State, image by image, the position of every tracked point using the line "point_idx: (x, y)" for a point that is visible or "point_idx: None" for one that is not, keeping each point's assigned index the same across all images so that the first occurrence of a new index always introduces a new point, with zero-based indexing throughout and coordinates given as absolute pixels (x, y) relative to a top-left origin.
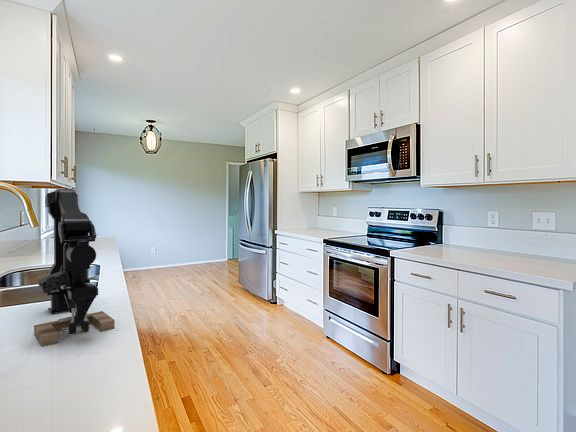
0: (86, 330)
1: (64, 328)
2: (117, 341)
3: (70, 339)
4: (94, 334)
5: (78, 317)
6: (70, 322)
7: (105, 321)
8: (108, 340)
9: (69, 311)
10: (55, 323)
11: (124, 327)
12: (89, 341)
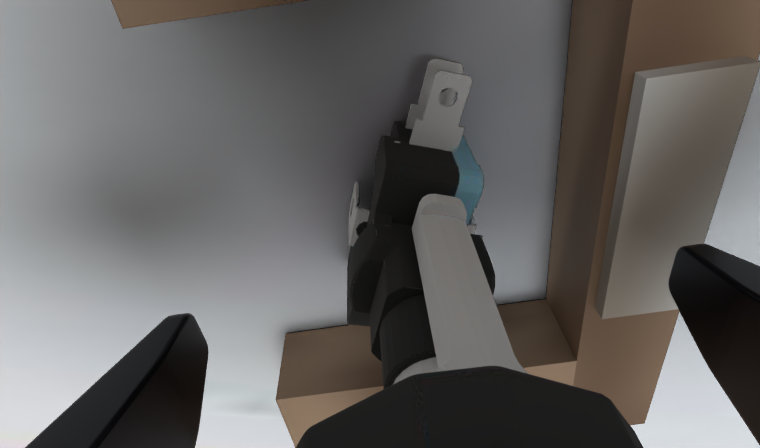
0: (348, 260)
1: (456, 99)
2: (3, 389)
3: (214, 120)
4: (246, 292)
5: (122, 359)
6: (431, 194)
7: (298, 423)
8: (47, 352)
9: (706, 252)
10: (636, 10)
11: (289, 437)
12: (77, 251)
